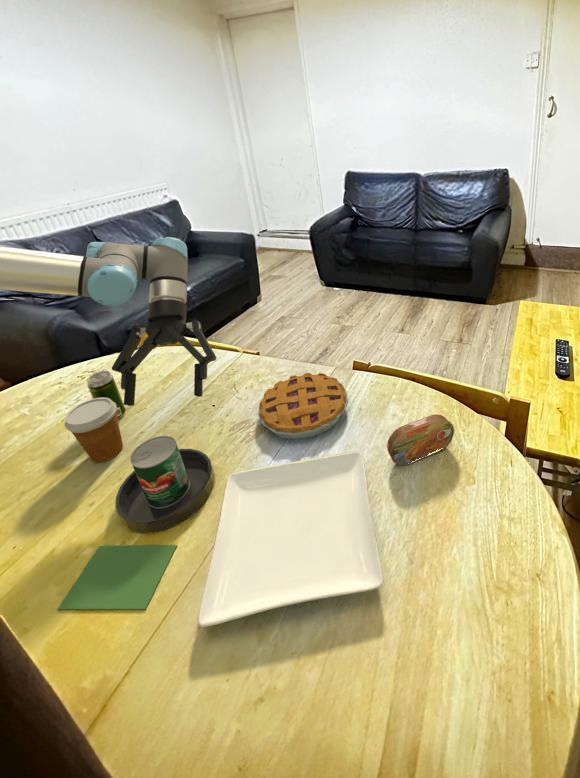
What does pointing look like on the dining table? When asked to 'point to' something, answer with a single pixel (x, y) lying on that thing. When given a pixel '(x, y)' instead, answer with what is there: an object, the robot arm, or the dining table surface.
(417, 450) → the tin
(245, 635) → the dining table surface
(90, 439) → the disposable coffee cup
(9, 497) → the dining table surface
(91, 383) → the beer can
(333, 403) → the pie
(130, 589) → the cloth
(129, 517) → the pan
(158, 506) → the canned tomato
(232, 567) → the square plate
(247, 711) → the dining table surface
